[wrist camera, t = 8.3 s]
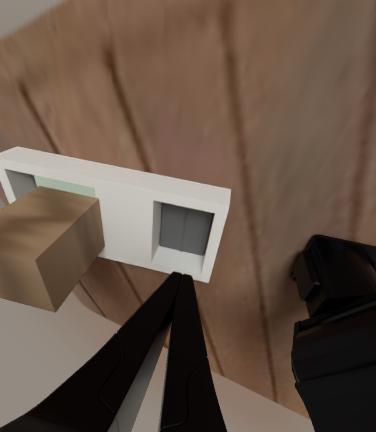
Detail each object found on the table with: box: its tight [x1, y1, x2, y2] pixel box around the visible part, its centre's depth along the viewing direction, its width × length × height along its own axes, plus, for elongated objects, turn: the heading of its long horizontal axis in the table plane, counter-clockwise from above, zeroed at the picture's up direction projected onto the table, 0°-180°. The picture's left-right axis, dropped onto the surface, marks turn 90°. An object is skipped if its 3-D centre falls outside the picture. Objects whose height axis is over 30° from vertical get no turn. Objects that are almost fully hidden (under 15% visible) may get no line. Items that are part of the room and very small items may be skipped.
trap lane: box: [0, 146, 231, 283], centre depth 24 cm, size 22×10×3 cm, turn 83°
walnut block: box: [0, 186, 105, 312], centre depth 20 cm, size 6×6×8 cm
